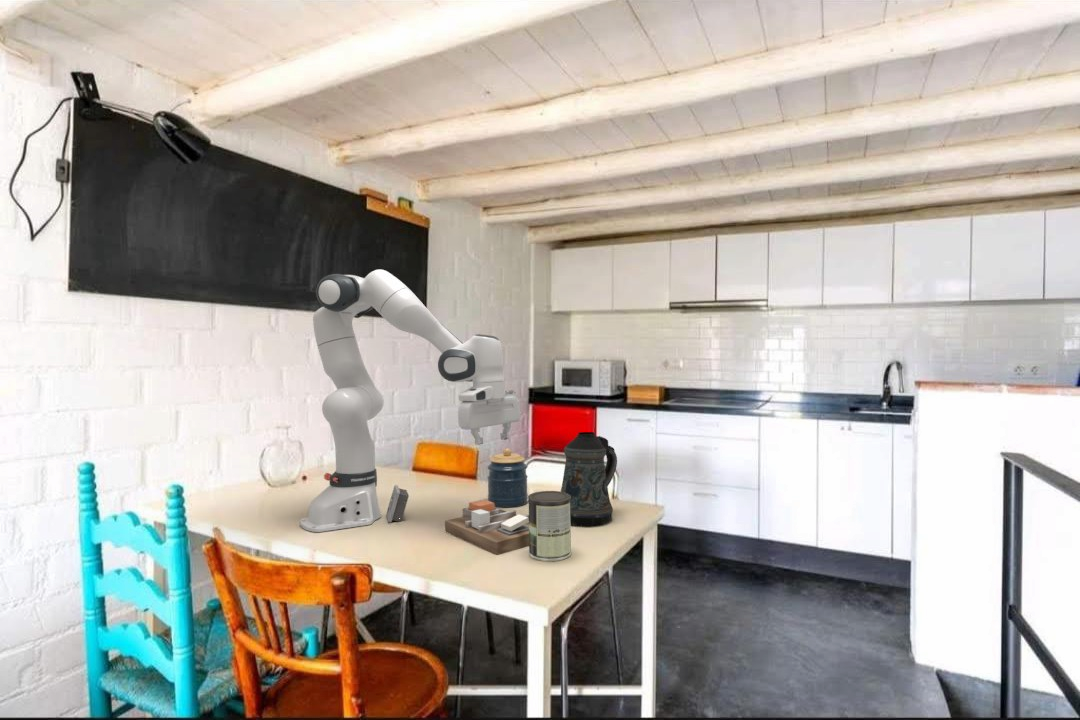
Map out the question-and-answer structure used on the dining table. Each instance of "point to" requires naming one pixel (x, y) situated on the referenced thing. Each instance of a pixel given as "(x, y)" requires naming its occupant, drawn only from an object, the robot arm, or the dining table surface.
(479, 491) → the dining table surface
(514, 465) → the canister
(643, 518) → the dining table surface
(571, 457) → the beer stein
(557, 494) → the coffee can
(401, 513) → the electrical switch
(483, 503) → the push button
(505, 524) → the rocker switch
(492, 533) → the control panel
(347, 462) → the robot arm
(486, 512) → the block
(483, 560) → the dining table surface
